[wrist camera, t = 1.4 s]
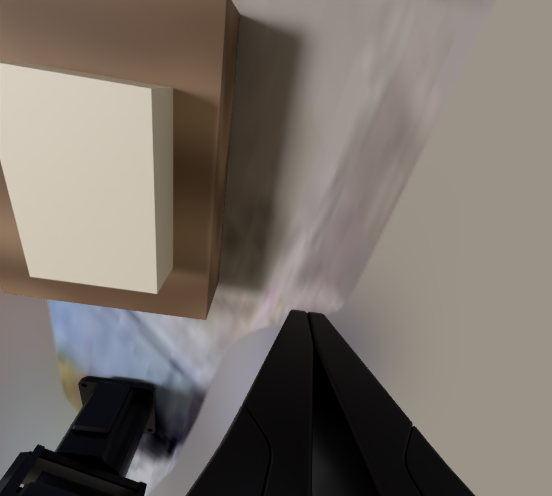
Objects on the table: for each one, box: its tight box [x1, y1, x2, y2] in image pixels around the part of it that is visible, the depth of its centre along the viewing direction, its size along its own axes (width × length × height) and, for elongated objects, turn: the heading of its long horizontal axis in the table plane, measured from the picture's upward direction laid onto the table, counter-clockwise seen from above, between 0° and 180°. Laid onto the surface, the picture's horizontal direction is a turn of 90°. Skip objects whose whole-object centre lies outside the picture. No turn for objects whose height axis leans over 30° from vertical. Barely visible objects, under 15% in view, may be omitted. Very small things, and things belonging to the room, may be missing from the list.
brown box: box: [0, 0, 240, 320], centre depth 17 cm, size 16×12×4 cm
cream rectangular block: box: [0, 61, 173, 294], centre depth 14 cm, size 9×6×2 cm, turn 171°
